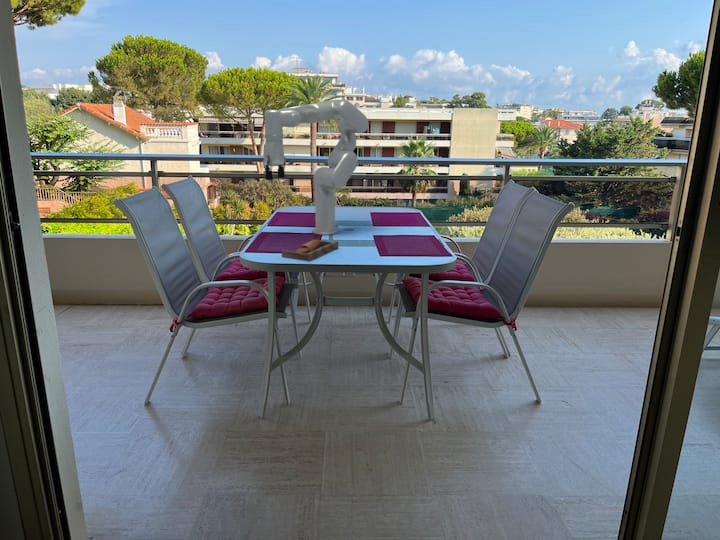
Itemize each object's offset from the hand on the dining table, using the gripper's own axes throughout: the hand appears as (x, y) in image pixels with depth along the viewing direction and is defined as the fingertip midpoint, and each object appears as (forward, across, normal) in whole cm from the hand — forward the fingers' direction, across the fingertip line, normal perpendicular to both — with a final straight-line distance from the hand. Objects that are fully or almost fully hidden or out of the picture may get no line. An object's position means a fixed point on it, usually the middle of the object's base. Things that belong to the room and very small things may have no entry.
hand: (275, 178), depth 237 cm
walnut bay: (+28, +12, +24) cm, 39 cm away
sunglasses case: (+29, +12, +23) cm, 38 cm away
